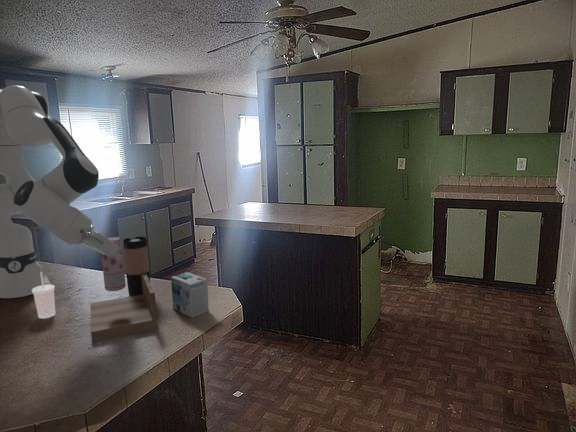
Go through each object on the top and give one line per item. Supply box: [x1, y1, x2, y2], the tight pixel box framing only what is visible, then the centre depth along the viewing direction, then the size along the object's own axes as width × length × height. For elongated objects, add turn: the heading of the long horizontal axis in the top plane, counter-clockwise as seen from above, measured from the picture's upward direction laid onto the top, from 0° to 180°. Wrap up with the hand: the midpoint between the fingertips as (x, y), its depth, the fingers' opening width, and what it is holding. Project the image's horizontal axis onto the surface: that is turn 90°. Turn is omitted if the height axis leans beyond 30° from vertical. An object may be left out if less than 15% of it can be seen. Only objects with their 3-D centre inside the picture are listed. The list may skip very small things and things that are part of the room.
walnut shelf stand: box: [89, 271, 159, 343], centre depth 125 cm, size 22×17×11 cm
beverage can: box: [100, 236, 126, 292], centre depth 122 cm, size 6×6×15 cm
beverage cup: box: [32, 271, 56, 319], centre depth 129 cm, size 6×6×14 cm
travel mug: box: [122, 236, 151, 297], centre depth 144 cm, size 8×8×20 cm
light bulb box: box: [170, 271, 209, 318], centre depth 131 cm, size 11×7×11 cm, turn 47°
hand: (114, 255), depth 122 cm, fingers closed on beverage can, 6 cm apart
